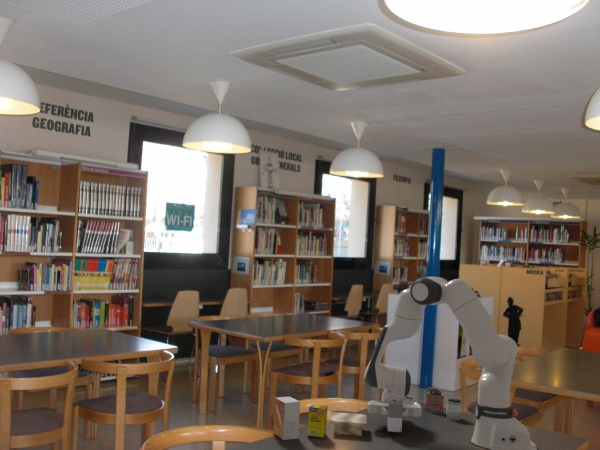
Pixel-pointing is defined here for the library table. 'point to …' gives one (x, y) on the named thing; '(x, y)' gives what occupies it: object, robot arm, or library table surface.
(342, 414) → the birch stand
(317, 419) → the supplement box
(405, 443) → the library table surface
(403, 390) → the robot arm
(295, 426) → the small box
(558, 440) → the library table surface
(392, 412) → the block
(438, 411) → the lighter
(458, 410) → the camera lens
